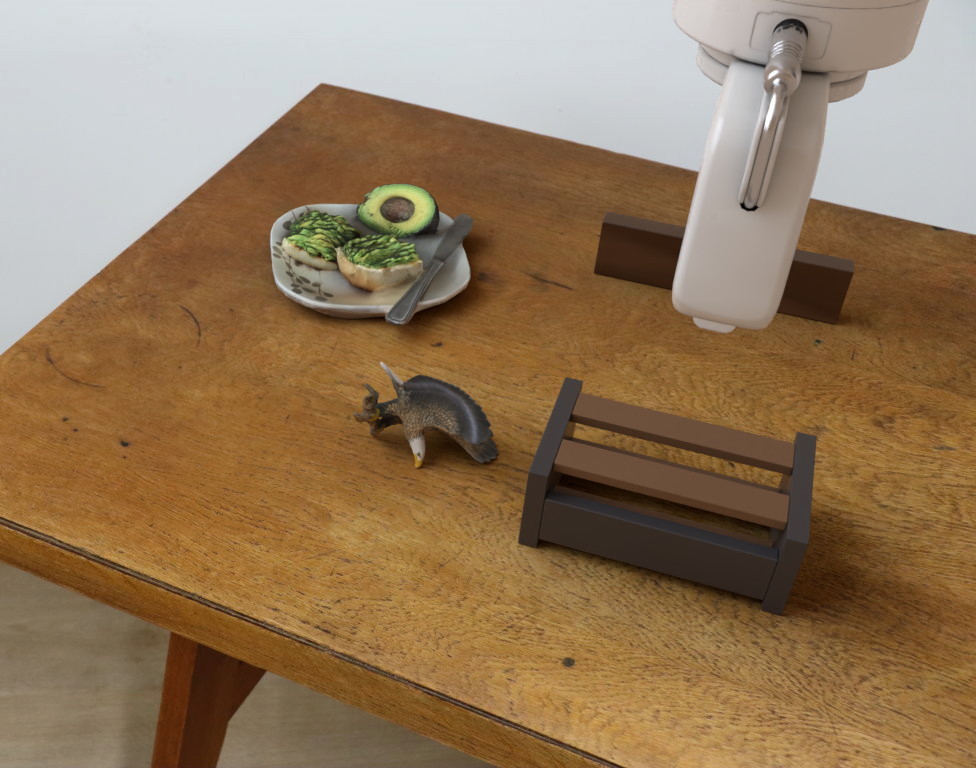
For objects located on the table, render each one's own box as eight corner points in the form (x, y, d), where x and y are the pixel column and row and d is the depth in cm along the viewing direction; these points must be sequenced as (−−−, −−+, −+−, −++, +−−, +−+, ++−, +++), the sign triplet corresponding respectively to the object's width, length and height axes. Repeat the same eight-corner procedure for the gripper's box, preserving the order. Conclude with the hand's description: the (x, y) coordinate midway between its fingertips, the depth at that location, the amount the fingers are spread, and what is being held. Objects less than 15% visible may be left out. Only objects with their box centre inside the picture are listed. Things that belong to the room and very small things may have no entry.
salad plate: (500, 340, 86) (506, 290, 83) (269, 344, 84) (267, 293, 82) (466, 218, 101) (470, 172, 99) (269, 219, 100) (268, 172, 97)
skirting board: (598, 262, 96) (607, 210, 93) (836, 312, 91) (854, 260, 88) (593, 273, 95) (602, 221, 92) (836, 324, 90) (854, 272, 87)
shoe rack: (554, 445, 76) (565, 376, 73) (792, 505, 73) (817, 435, 69) (517, 543, 69) (528, 471, 65) (781, 616, 65) (808, 544, 61)
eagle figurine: (354, 476, 71) (494, 473, 70) (348, 366, 71) (488, 359, 69) (378, 460, 79) (504, 456, 77) (372, 360, 78) (499, 354, 77)
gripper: (893, 104, 32) (774, 462, 40) (889, -74, 48) (804, 212, 56) (674, 68, 34) (603, 421, 42) (740, -93, 49) (679, 188, 57)
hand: (718, 300), depth 49 cm, fingers closed
